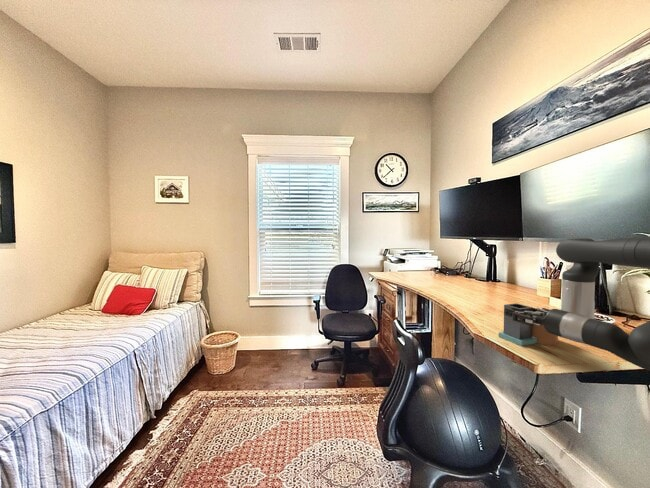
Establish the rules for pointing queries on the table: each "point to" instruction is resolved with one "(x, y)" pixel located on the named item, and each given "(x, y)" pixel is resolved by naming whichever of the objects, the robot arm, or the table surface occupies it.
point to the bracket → (543, 335)
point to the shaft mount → (517, 341)
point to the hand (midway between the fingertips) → (514, 310)
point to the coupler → (517, 323)
